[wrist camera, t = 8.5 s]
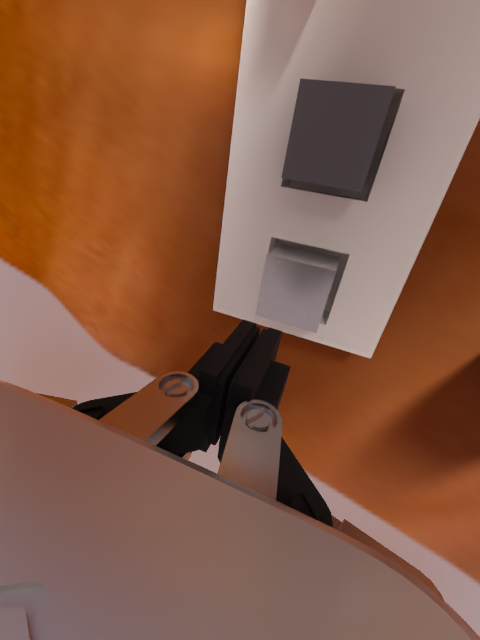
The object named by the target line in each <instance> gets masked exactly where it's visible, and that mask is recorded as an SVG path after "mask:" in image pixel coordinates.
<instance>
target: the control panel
mask: <svg viewBox="0 0 480 640" xmlns="http://www.w3.org/2000/svg"><path fill="white" fill-rule="evenodd" d="M300 78H301V79H313V80H325V81H337V82H350V83H362V84H374V85H386V86H396V88H395V91H394V94H393V97H392V100H391V103H390V106H389V109H388V112H387V116H386V119H385V122H384V125H383V128H382V131H381V134H380V137H379V140H378V144H377V147H376V150H375V153H374V156H373V159H372V162H371V165H370V168H369V172H368V175H367V178H366V181H365V184H364V187H363V190H362V192H360V191H354V190H348V189H342V188H336V187H330V186H325V185H319V184H313V183H307V182H301V181H295V180H290V179H284V178H281V177H282V172H283V167H284V162H285V156H286V151H287V146H288V141H289V136H290V130H291V125H292V120H293V115H294V109H295V104H296V99H297V94H298V89H299V83H300ZM479 119H480V0H247V1H246V10H245V19H244V28H243V38H242V47H241V56H240V65H239V74H238V83H237V93H236V102H235V111H234V120H233V129H232V138H231V148H230V157H229V166H228V175H227V184H226V193H225V202H224V212H223V221H222V230H221V239H220V248H219V257H218V267H217V276H216V285H215V294H214V303H213V311H217V312H220V313H223V314H226V315H230V316H233V317H236V318H239V319H243V320H247V321H250V322H254V323H256V324H259V325H262V326H266V327H270V328H273V329H277V330H280V331H282V332H285V333H288V334H292V335H295V336H298V337H301V338H305V339H308V340H311V341H314V342H318V343H321V344H324V345H327V346H331V347H334V348H337V349H340V350H344V351H347V352H350V353H353V354H357V355H360V356H363V357H366V358H370V359H371V357H372V355H373V353H374V350H375V348H376V346H377V344H378V342H379V339H380V337H381V335H382V333H383V331H384V328H385V326H386V324H387V322H388V319H389V317H390V315H391V313H392V311H393V308H394V306H395V304H396V302H397V300H398V297H399V295H400V293H401V291H402V289H403V286H404V284H405V282H406V280H407V278H408V275H409V273H410V271H411V269H412V267H413V264H414V262H415V260H416V258H417V256H418V253H419V251H420V249H421V247H422V245H423V242H424V240H425V238H426V236H427V233H428V231H429V229H430V227H431V225H432V222H433V220H434V218H435V216H436V214H437V211H438V209H439V207H440V205H441V203H442V200H443V198H444V196H445V194H446V192H447V189H448V187H449V185H450V183H451V181H452V178H453V176H454V174H455V172H456V170H457V167H458V165H459V163H460V161H461V159H462V156H463V154H464V152H465V150H466V147H467V145H468V143H469V141H470V139H471V136H472V134H473V132H474V130H475V128H476V125H477V123H478V121H479ZM279 244H285V245H289V246H294V247H298V248H302V249H307V250H311V251H315V252H320V253H324V254H328V255H333V256H337V257H339V262H338V266H337V271H336V274H335V277H334V280H333V283H332V287H331V290H330V293H329V296H328V299H327V302H326V305H325V308H324V311H323V314H322V318H321V321H320V324H319V327H318V330H317V333H314V332H311V331H307V330H304V329H301V328H297V327H294V326H291V325H287V324H284V323H281V322H277V321H274V320H271V319H267V318H264V317H261V316H257V315H255V313H256V307H257V302H258V297H259V292H260V287H261V281H262V276H263V271H264V266H265V261H266V255H267V254H268V253H269V252H270V251H272V250H273V249H274V248H275V247H277V246H278V245H279Z"/></svg>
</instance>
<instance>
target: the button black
mask: <svg viewBox="0 0 480 640" xmlns="http://www.w3.org/2000/svg"><path fill="white" fill-rule="evenodd" d="M395 88H396V86H386V85H374V84H362V83H350V82H337V81H325V80H313V79H301V78H300V83H299V89H298V94H297V99H296V104H295V109H294V115H293V120H292V125H291V130H290V136H289V141H288V146H287V151H286V156H285V162H284V167H283V172H282V177H281V178H284V179H290V180H295V181H301V182H307V183H313V184H319V185H325V186H330V187H336V188H342V189H348V190H354V191H360V192H362V190H363V187H364V184H365V181H366V178H367V175H368V172H369V168H370V165H371V162H372V159H373V156H374V153H375V150H376V147H377V144H378V140H379V137H380V134H381V131H382V128H383V125H384V122H385V119H386V116H387V112H388V109H389V106H390V103H391V100H392V97H393V94H394V91H395Z"/></svg>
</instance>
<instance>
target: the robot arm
mask: <svg viewBox="0 0 480 640" xmlns="http://www.w3.org/2000/svg"><path fill="white" fill-rule="evenodd" d="M259 332H260V328H258V327H256V323H254V322H250V321H247V320H243V321H242V322H241V323H240V324H239V325H238V326H237V328H236V329H235V330H234V331H233V332H232V334H231V335H230V336H229V337H228V338H227V340H226V341H225V342H224V343H223V344H221V343H218V342H215V343H214V344H213V345H212V346H211V347H210V348H209V350H208V351H207V352H206V353H205V354H204V355H203V356H202V357H201V358H200V360H199V361H198V362H197V363H196V364H195V365H194V366H193V367H192V368H191V370H190V371H189V372H188V373H186V372H182V371H171V372H167V373H164V374H162V375H161V376H159V377H158V378H156V379H155V380H153V381H152V382H151V383H149V384H148V385H147V386H145V387H144V388H142V389H141V390H140V391H138V392H135V393H129V394H123V395H118V396H113V397H107V398H101V399H95V400H90V401H86V402H83V403H81V404H79V405H77V401H74V400H69V399H64V398H59V397H54V396H48V395H43V394H38V393H34V392H32V391H29V390H27V389H24V388H21V387H19V386H16V385H13V384H10V383H8V382H4V381H0V640H480V637H479V636H478V635H477V634H476V632H475V631H474V630H473V629H472V628H471V627H470V626H469V625H468V624H467V623H466V622H465V621H464V620H463V619H462V618H461V617H460V616H459V615H458V614H457V613H456V612H455V611H454V610H453V609H452V608H451V607H450V606H449V605H448V604H447V603H446V602H444V599H443V597H442V595H441V594H440V592H439V591H438V590H437V588H436V587H435V586H434V584H433V583H432V582H431V580H430V579H428V578H427V577H426V576H425V575H424V574H423V573H421V572H420V571H419V570H418V569H416V568H415V567H413V566H412V565H410V564H409V563H407V562H406V561H405V560H403V559H402V558H400V557H399V556H397V555H396V554H394V553H393V552H391V551H390V550H388V549H387V548H385V547H384V546H383V545H381V544H380V543H378V542H377V541H376V540H374V539H373V538H371V537H370V536H368V535H367V534H365V533H364V532H362V531H361V530H359V529H358V528H357V527H355V526H354V525H352V524H351V523H349V522H348V521H346V520H345V519H344V520H343V522H340V521H339V520H338V519H336V518H335V517H333V516H332V515H331V512H330V510H329V508H328V506H327V504H326V502H325V501H324V499H323V498H322V496H321V495H320V493H319V492H318V490H317V489H316V488H315V486H314V484H313V483H312V481H311V480H310V478H309V477H308V475H307V474H306V472H305V471H304V469H303V468H302V466H301V465H300V463H299V462H298V460H297V459H296V458H295V456H294V455H293V453H292V452H291V450H290V449H289V447H288V446H287V444H286V443H285V441H284V440H283V438H282V437H281V435H282V416H281V415H280V413H279V411H278V410H277V409H278V406H279V403H280V400H281V397H282V394H283V391H284V387H285V384H286V381H287V377H288V374H289V370H290V366H287V365H284V364H281V363H278V362H275V359H276V355H277V351H278V347H279V343H280V339H281V335H282V331H280V330H277V329H273V328H270V327H269V328H268V330H265V329H263V330H262V332H261V333H260V335H259ZM220 436H221V437H220ZM219 438H220V442H219V452H218V459H219V461H220V467H219V471H218V474H216V473H214V472H212V471H210V470H208V469H205V468H203V467H201V466H199V465H197V464H194V463H192V462H190V461H188V460H189V458H190V456H191V452H192V451H196V450H202V451H204V452H206V451H207V450H208V448H209V446H210V444H213V445H216V443H217V442H218V440H219Z"/></svg>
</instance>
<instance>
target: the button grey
mask: <svg viewBox="0 0 480 640" xmlns="http://www.w3.org/2000/svg"><path fill="white" fill-rule="evenodd" d="M338 262H339V257H337V256H333V255H328V254H324V253H320V252H315V251H311V250H307V249H302V248H298V247H294V246H289V245H285V244H279V245H278V246H277V247H275V248H274V249H273V250H272V251H270V252H269V253H268V254H267V255H266V261H265V266H264V271H263V276H262V281H261V287H260V292H259V297H258V302H257V307H256V313H255V315H257V316H261V317H264V318H267V319H271V320H274V321H277V322H281V323H284V324H287V325H291V326H294V327H297V328H301V329H304V330H307V331H311V332H314V333H317V330H318V327H319V324H320V321H321V318H322V314H323V311H324V308H325V305H326V302H327V299H328V296H329V293H330V290H331V287H332V283H333V280H334V277H335V274H336V271H337V266H338Z"/></svg>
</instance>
